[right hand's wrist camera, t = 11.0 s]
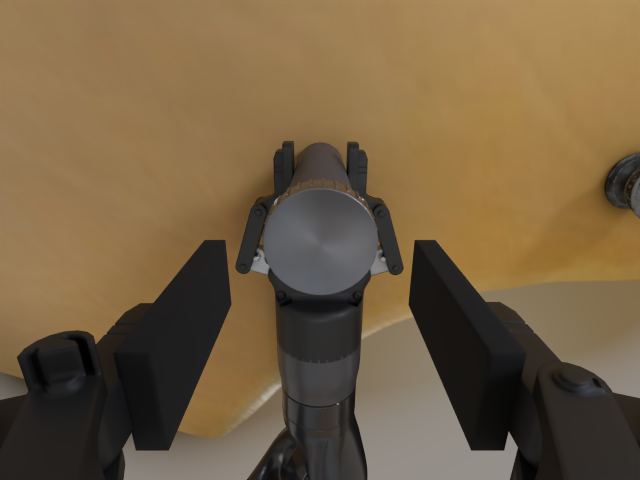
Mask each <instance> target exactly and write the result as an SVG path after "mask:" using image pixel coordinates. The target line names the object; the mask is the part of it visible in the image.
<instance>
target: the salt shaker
mask: <svg viewBox="0 0 640 480" xmlns="http://www.w3.org/2000/svg"><path fill="white" fill-rule="evenodd" d="M605 190H606V196H607V198H608V200H609V201H610V202H611V203H612V204H613V205H615V206H617V207H619V208H624V209H632V210H633V211H634V213H635V215H637V216H638V217H639V218H640V153H636V154H633V155H631V156H628V157H626V158H625V159H623V160H622V161H620V162H619V163H618V164H617V165H616V166H615V167H614V168H613V170H612V171H611V172H610V174H609V176H608V179H607V181H606V187H605Z"/></svg>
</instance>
